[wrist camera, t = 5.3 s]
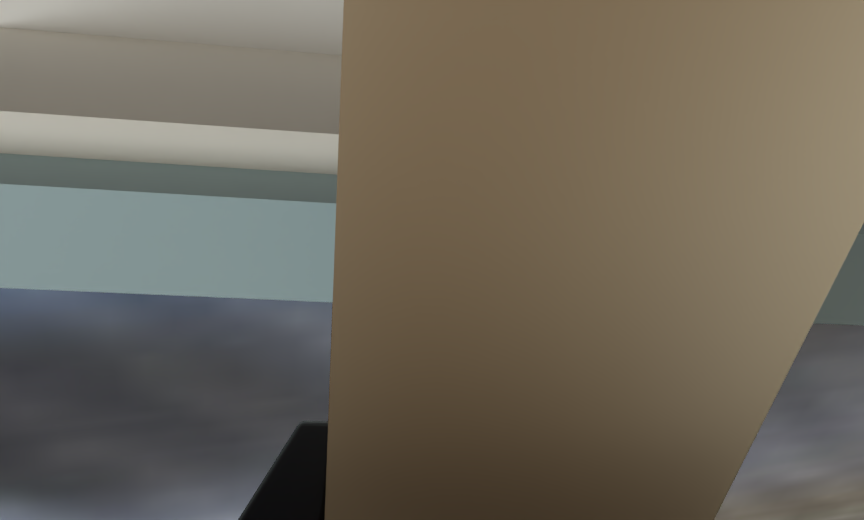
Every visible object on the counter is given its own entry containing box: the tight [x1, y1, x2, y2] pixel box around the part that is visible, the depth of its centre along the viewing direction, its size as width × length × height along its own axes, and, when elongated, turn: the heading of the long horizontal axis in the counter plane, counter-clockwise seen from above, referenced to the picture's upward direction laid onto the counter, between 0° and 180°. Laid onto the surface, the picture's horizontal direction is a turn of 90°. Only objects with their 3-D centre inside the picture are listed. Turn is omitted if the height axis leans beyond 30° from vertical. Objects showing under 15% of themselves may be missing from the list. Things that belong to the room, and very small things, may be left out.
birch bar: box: [325, 0, 864, 520], centre depth 8 cm, size 3×20×4 cm, turn 174°
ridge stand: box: [0, 0, 864, 326], centre depth 15 cm, size 8×20×6 cm, turn 84°
